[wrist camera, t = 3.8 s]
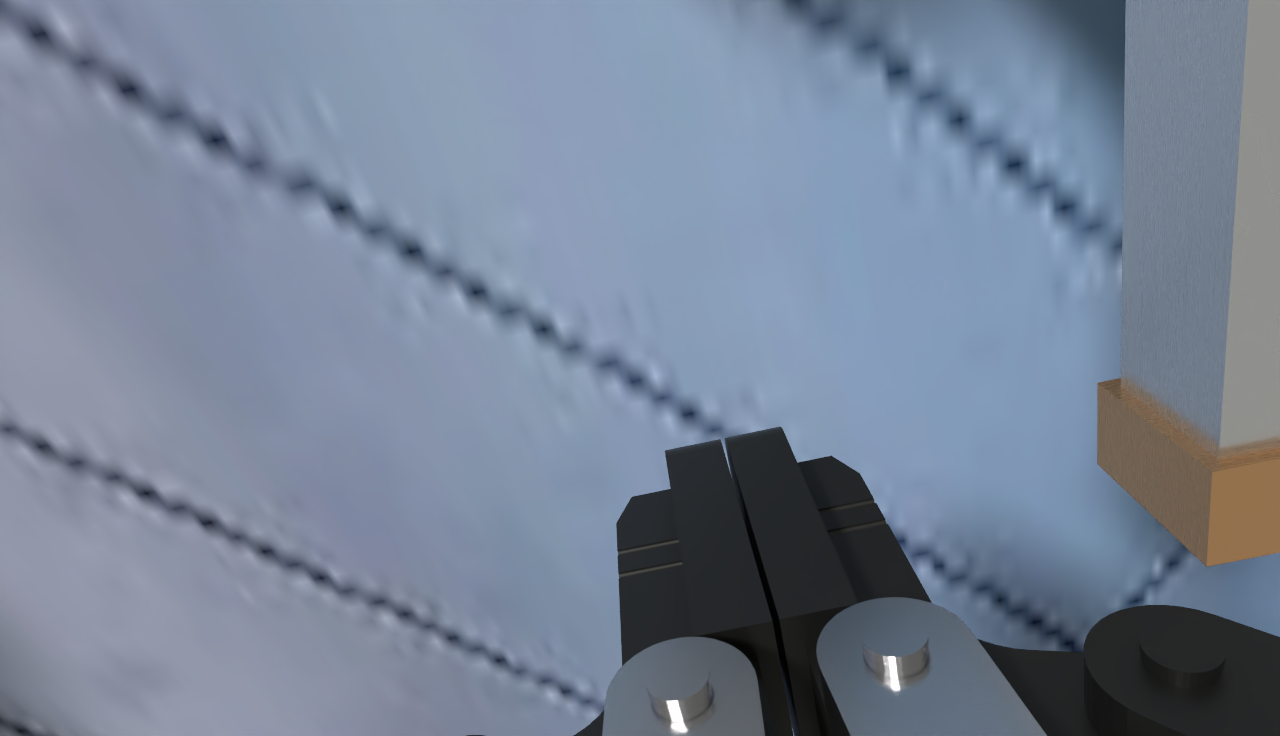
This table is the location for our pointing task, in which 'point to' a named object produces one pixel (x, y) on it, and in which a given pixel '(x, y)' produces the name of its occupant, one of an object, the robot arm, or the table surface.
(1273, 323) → the bar
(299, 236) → the table surface
